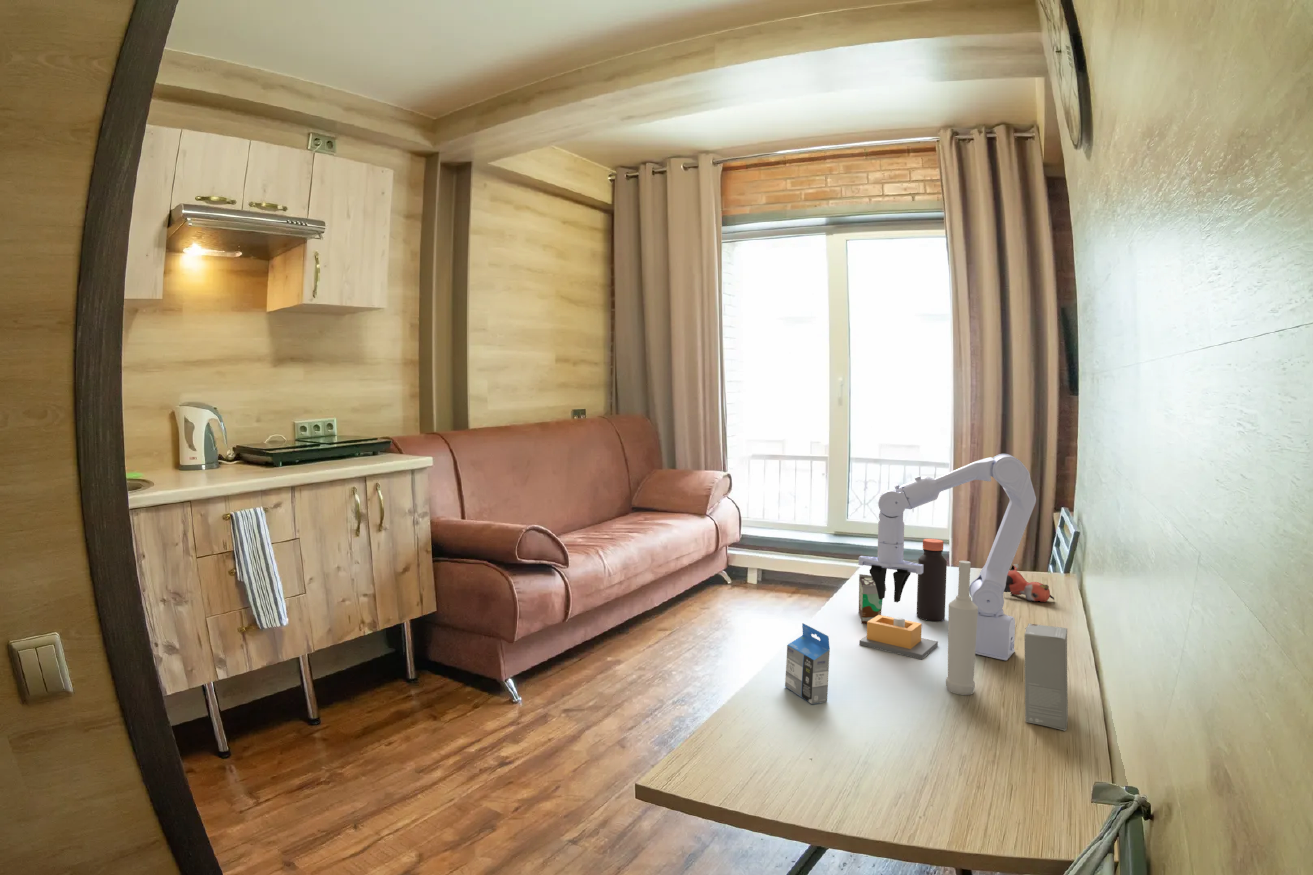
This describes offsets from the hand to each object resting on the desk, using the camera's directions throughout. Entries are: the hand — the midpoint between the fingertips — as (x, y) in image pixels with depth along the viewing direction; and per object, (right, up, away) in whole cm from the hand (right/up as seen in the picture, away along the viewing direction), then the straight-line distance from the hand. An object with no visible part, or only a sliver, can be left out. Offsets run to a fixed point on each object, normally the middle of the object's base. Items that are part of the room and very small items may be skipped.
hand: (889, 599), depth 165 cm
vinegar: (+16, -9, +17) cm, 25 cm away
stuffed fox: (+52, -8, +36) cm, 64 cm away
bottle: (+4, -11, -28) cm, 30 cm away
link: (0, -9, -3) cm, 9 cm away
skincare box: (+14, -12, -40) cm, 44 cm away
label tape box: (-26, -11, -31) cm, 42 cm away
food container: (+1, -9, +16) cm, 18 cm away
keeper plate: (+1, -10, -3) cm, 10 cm away
